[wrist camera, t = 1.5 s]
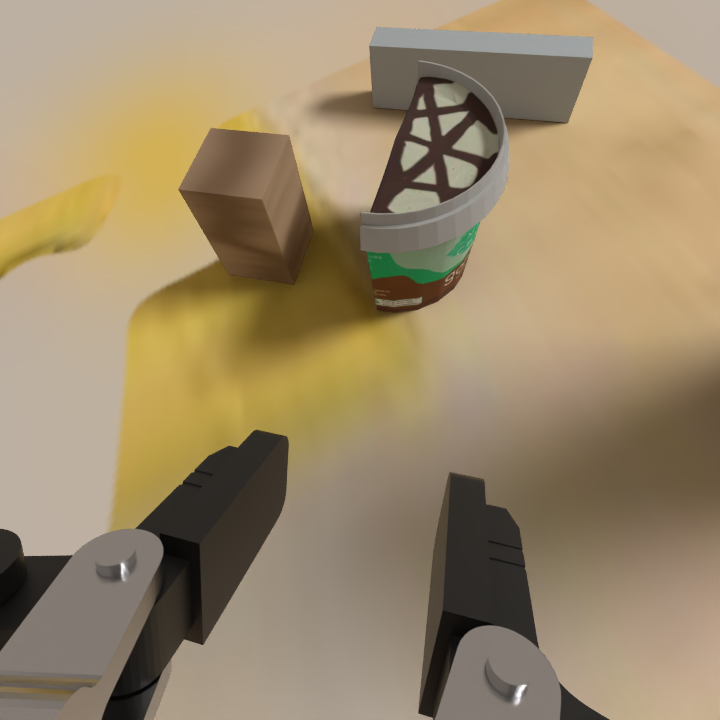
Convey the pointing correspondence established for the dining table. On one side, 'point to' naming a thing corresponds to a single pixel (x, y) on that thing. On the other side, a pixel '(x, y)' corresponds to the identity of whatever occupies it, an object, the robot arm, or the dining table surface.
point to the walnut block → (250, 203)
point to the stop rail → (485, 67)
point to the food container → (435, 189)
